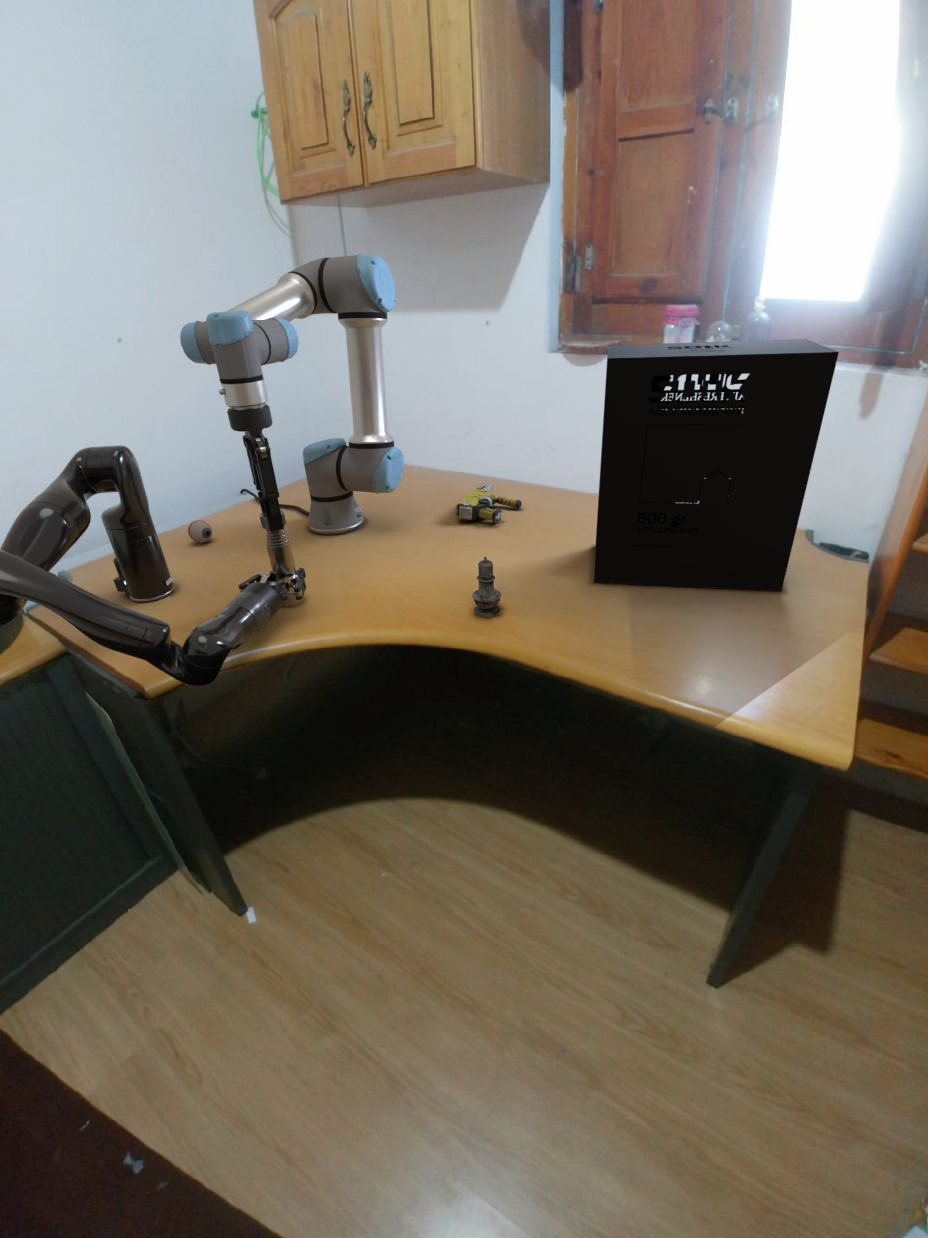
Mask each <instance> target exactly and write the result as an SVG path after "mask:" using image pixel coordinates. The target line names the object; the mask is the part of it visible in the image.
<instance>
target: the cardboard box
mask: <svg viewBox="0 0 928 1238" xmlns="http://www.w3.org/2000/svg"><path fill="white" fill-rule="evenodd" d="M839 353H840V352H839V351H837V350H835V349H832V348H830V347H828V346H825V345H823V344H819V343H817V342H815V341H812V340H810V339H808V338H795V339H791V338H790V339H789V338H787V339H765V340H764V339H761V340H759V339H758V340H732V341H730V340H729V341H728V340H727V341H698V342H697V341H696V342H669V343H639V344H638V343H636V344H635V343H634V344H632V343H631V344H609V345H607V355H606V356H607V357H606V371H605V384H604V400H603V401H604V403H603V418H602V432H601V433H602V436H601V450H600V453H601V454H600V464H599V465H600V466H599V467H600V468H599V481H598V482H599V483H598V484H599V485H598V498H597V515H596V530H595V545H594V546H595V548H594V565H593V583H594V584H614V585H615V584H616V585H618V584H619V585H637V586H639V585H641V586H658V587H659V586H663V587H681V588H682V587H684V588H703V589H705V588H707V589H727V590H728V589H729V590H747V591H767V592H768V591H769V592H771V591H772V592H782V591H783V587H784V583H785V578H786V575H787V572H788V571H787V570H788V567H789V562H790V558H791V554H792V549H793V545H794V542H795V537H796V532H797V528H798V525H799V520H800V516H801V512H802V509H803V508H802V507H803V503H804V499H805V495H806V490H807V487H808V482H809V478H810V476H811V475H810V474H811V470H812V467H813V462H814V457H815V454H816V449H817V445H818V442H819V436H820V432H821V428H822V424H823V420H824V416H825V411H826V408H827V404H828V399H829V395H830V391H831V387H832V382H833V379H834V374H835V370H836V366H837V362H838V358H839ZM742 374H743V375H747V377H746V378H744V379H739V378H740V377H741V376H742ZM693 375H695V376H696V375H697V382H696V380H695V379H693V380H692V377H693ZM707 375H709V378H708V379H707ZM682 376H685V380H684V382H683V389H679V385H680V379H679V378H680V377H682ZM730 376H731V377H730ZM729 377H730V383H729V385H730V386H735V385H740V386H739V388H729V387H728V379H729ZM706 379H707V380H706ZM696 385H699V389H695V388H696ZM713 385H714V386H715V387H714V389H709V386H713ZM667 387H670V389H666V388H667Z"/></svg>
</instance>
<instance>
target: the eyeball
mask: <svg viewBox="0 0 928 1238" xmlns="http://www.w3.org/2000/svg"><path fill="white" fill-rule="evenodd" d="M187 534H188V537H189V538H190V539H191V540H192V541H193V542H196V543H198V544H199V543H201V544H202V543H207V542H208V541H209V540H211V538H212V536H213V527H212V526H211V524H210V523H209V522H207V521H205V520H201V519H197V520H193V521H192V522H191V523H190V524H189V525H188V527H187Z"/></svg>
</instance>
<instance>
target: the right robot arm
mask: <svg viewBox="0 0 928 1238" xmlns="http://www.w3.org/2000/svg"><path fill="white" fill-rule="evenodd" d="M396 294H397V293H396V286H395V281H394V278H393V274H392V272H391V270H390V268H389V265H388V264H387V263H386V261H385V260H384V259H383V258H382V257H380V256H379V255H376V254H353V255H343V256H332V257H321V258H317V259H313V260H309V261H308V262H306V263H304V264H302V265H300V266H297V267H296V268H294V269H292V270H290V271H288V272H286V273H284V274H283V275H281V276H280V277H279V278H278V280H277V283H276V284H274V285H273V286H271V287H269V288H266V289H265V290H264V291H261V292H260V293H258V294H256V295H254V296H252V297H251V298H248V299H247V300H244V301H243V302H241V303H239V304H237V305H235V306H233V307H232V308H230V309H228V310H226V311H216V312H210V313H208V314H207V316H206V319H205V320H204V321H200V320H196V321H193V322H188V323H187V322H186V323H185V324H184V325H183V327H182V328H181V330H180V335H179V339H180V345H181V348H182V350H183V353H184V354H185V356H186V357H187V358H188V359H189V361H191V362H193V363H195V364H204V365H208V366H211V365H216V370H217V373H218V378H219V382H220V387H222V388H219V389H218V394H219V395H221V396H223V399H224V404H225V406H226V407H229V408H228V409H227V411H226V413H227V416H228V421H229V426H230V428H231V430H232V431H234V432H242V433H243V432H244V434H243V435H242V443H243V446H244V447H245V450H246V455H247V456H246V457H247V459H248V463H249V467H250V472H251V475H252V476H251V477H252V480H253V481H252V483H253V485H254V486H255V489H256V491H257V494H256V493H254V492H253V491H251V490H249V489H247V488H241V490H240V492H239V494H244V493H247V494H249V495H250V496H253V498H254V499H255V500H256V501H257V502H259V506H260V510H261V513H262V512H264V511H266V515H267V520H268V524H269V529H270V531H271V532H272V531H277V530H281V529H285V526H284V525H283V520H282V515H281V511H280V510H281V508H287V509H294V510H298V511H300V512H301V513H302V514H304V515H306V516H308V528H309V529H308V530H310V531H311V532H312V533H314V534H317V535H323V536H324V535H325V536H327V535H329V536H331V535H339V534H340V535H341V534H345V533H350V532H353V531H355V530H357V529H359V528H361V527H362V526H363V525H364V523H365V519H364V514H363V505H362V504H361V505H359V504H358V501H357V500H356V498H355V495H354V492H359V493H374V494H376V495H377V494H390V493H392V492H394V491H395V490H396V489H397V488H398V486H399V485H400V483H401V481H402V478H403V474H404V467H405V458H404V457H405V456H404V454H403V450H402V449H401V448H399V447H398V446H395V438H394V437H393V436H392V435H391V434H390V433H389V432H388V417H387V415H388V414H387V399H386V381H385V366H384V365H385V364H384V347H383V332H382V331H383V330H382V329H383V327H384V326H385V325H386V324H387V322H388V313H390V312H392V311H393V310H394V308H395V305H396V300H397V295H396ZM321 314H322V315H323V314H335V315H336V314H337V321H338V323H339V324H340V325H341V326H342V327H343V328H344V331H345V342H346V343H345V344H346V353H347V366H348V378H349V379H348V381H349V391H350V392H349V393H350V404H351V417H352V428H353V429H352V431H353V433H352V435H351V436H350V437H349V438H348V441H346V439H345V438H342V437H334V438H328V439H323V440H320V441H319V440H318V441H316V442H313V443H309V444H308V445H306V446H305V447H304V448H303V450H302V457H303V458H302V460H303V467H304V471H305V477H306V481H307V486H308V492H309V498H310V507H309V511H308V510H306V509H304V508H302V507H300V506H298V505H294V504H284V503H280V501H279V498H280V492H279V487H278V484H277V478H276V474H275V470H274V464H273V459H272V452H271V451H272V449H271V447H270V443H269V440H268V437H265V435H264V433H263V430H265V429H268V428H270V427H271V426H272V425H273V422H274V421H273V417H272V413H271V408H270V406H269V405H268V404H267V403H268V402H269V398H268V392H267V387H266V382H265V378H264V375H263V369H262V366H267V365H271V364H276V363H285V362H286V361H287V360H290V359H292V358H294V356H295V355H297V352H298V350H299V346H300V345H299V344H300V342H299V336H298V332H297V330H296V328H295V327H294V326H293V324H292V323H291V322H293V320H295V319H298V320H299V319H300V320H303V319H306V318H308V317H310V316H313V315H321ZM347 442H348V443H347ZM347 444H348V445H347Z"/></svg>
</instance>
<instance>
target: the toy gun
mask: <svg viewBox="0 0 928 1238" xmlns="http://www.w3.org/2000/svg"><path fill="white" fill-rule="evenodd" d="M493 488H494V486H493V483H490V482H489V483H488V484H487V482H483V483H482V484H480V485H479V486H478V487H476V488H475V489H473V490H472V491H471V492H470V493H469V494H468V495H467V496H465V498H463V499H462V500H461V501H459V502H458V503H457V504H456V507H455V508H456V510H455V513H456V514H455V516H456V517H457V518H458V519H460V520H461V521H464V522H465V521H469V520H470V521H475V520H480V519H487V520H489V521H492V524H493V525H494V524H496V523H498V522H500V521H501V520H502V513H503V512H502V510H503V509H502V508H500V507H498V508H495V507H494V505H496V504H498V505H502V506H506V507H511V508H515V509H517V510H518V509H521V507H522V505H523V503H522V500H521V499H515V498H511V497H507V496H503V495H499V496H498V497H496V496H495V495H496V494H494V493H493V491H491V490H494V489H493Z"/></svg>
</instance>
